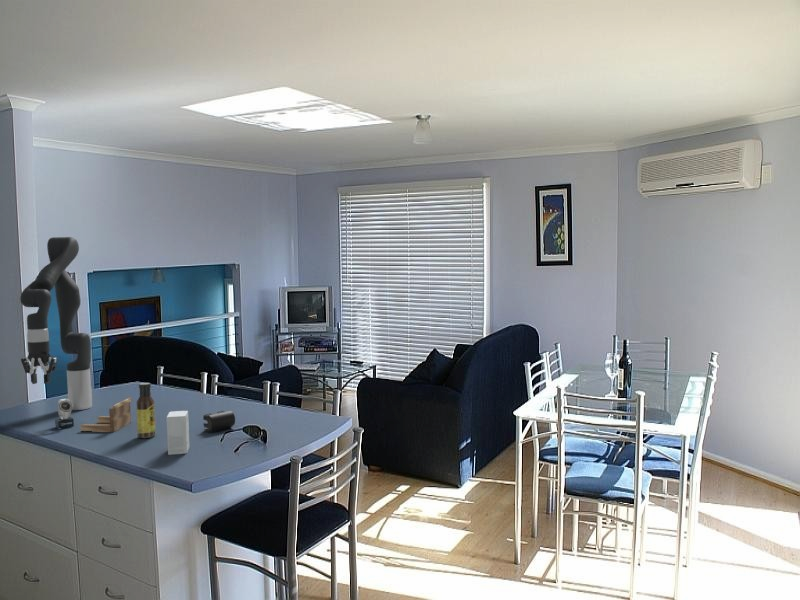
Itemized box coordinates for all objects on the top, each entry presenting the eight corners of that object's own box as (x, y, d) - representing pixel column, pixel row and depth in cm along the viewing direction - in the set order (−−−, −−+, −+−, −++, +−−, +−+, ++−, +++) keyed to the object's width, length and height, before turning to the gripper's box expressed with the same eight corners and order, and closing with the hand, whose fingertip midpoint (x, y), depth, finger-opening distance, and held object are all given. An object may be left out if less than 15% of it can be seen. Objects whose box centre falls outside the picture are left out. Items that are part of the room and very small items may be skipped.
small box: (170, 448, 233) (169, 411, 232) (189, 446, 235) (188, 410, 234) (167, 455, 225) (166, 416, 224) (187, 453, 227) (185, 415, 226)
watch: (60, 430, 259) (58, 402, 258) (54, 426, 265) (52, 398, 264) (75, 427, 263) (74, 399, 262) (69, 423, 269) (68, 396, 268)
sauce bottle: (154, 438, 246) (152, 384, 244) (136, 439, 244) (134, 385, 243) (156, 433, 252) (154, 381, 251) (139, 435, 251) (136, 382, 249)
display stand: (99, 422, 270) (98, 397, 269) (133, 422, 269) (132, 397, 268) (81, 431, 256) (79, 405, 255) (116, 431, 255) (114, 405, 254)
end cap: (212, 434, 251) (212, 416, 250) (202, 431, 255) (202, 413, 255) (235, 429, 258) (235, 411, 257) (225, 425, 263) (225, 408, 262)
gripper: (61, 338, 265) (63, 381, 266) (26, 338, 266) (28, 381, 267) (50, 341, 257) (52, 385, 259) (14, 341, 258) (16, 385, 260)
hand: (40, 383), depth 263 cm, fingers open, 4 cm apart
